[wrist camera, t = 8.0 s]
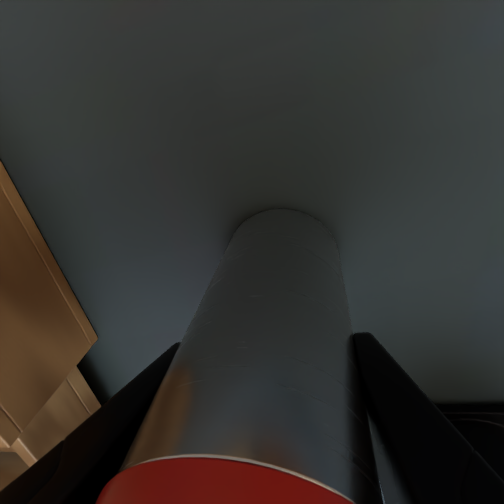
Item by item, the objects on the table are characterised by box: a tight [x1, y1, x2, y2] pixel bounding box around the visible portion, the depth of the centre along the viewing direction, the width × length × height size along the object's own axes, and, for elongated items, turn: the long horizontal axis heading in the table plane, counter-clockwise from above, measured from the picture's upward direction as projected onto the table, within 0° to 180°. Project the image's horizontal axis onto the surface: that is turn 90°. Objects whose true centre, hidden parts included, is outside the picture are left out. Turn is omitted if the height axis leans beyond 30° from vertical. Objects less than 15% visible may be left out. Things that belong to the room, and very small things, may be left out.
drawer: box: [0, 366, 101, 491], centre depth 18 cm, size 17×12×4 cm
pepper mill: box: [95, 209, 383, 504], centre depth 8 cm, size 5×5×10 cm
